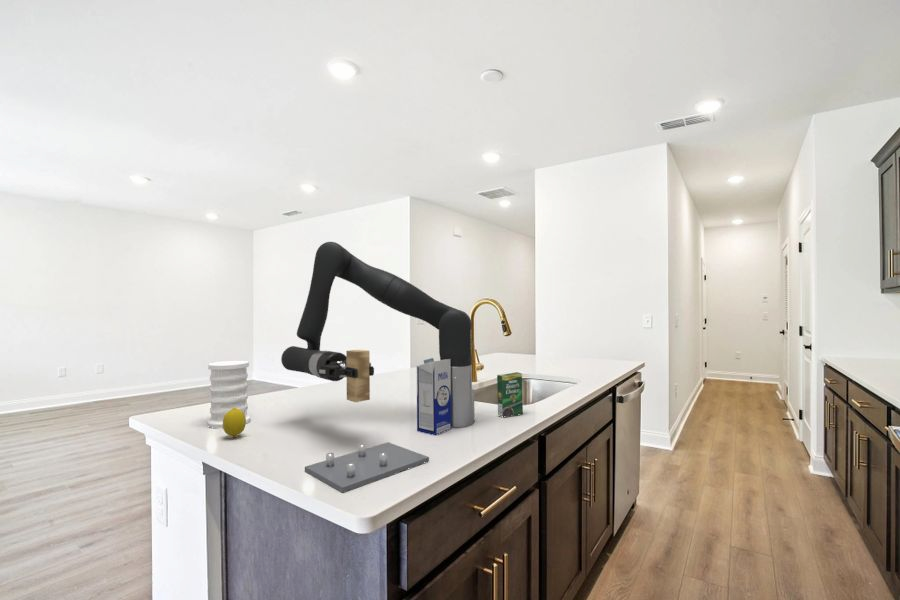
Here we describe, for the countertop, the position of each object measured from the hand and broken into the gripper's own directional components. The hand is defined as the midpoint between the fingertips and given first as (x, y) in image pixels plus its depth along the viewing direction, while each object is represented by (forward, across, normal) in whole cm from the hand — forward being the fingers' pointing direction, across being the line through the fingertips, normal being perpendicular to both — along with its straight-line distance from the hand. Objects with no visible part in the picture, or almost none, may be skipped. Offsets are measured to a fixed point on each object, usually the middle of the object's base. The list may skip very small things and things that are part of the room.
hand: (364, 372), depth 104 cm
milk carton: (0, +23, +19) cm, 30 cm away
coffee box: (+5, +50, +19) cm, 54 cm away
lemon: (-34, -18, +19) cm, 43 cm away
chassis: (+9, -5, +19) cm, 21 cm away
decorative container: (-50, -15, +19) cm, 56 cm away
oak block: (-3, 0, +7) cm, 8 cm away
